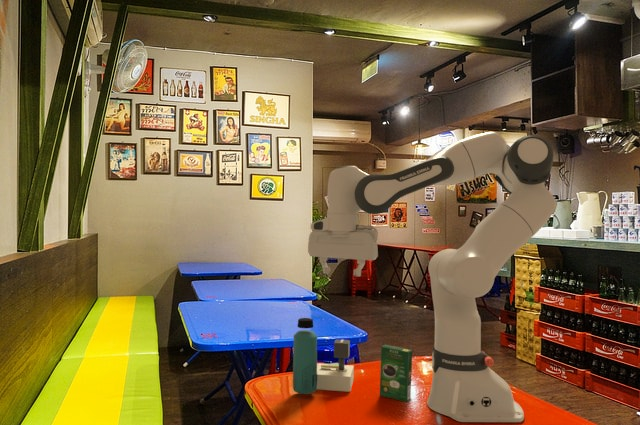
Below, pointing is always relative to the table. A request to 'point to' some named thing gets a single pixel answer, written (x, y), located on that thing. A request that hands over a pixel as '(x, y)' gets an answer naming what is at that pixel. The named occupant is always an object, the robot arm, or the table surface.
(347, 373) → the cream square baseplate
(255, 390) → the table surface
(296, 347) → the beverage bottle
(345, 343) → the dark box with stem
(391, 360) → the coffee box
